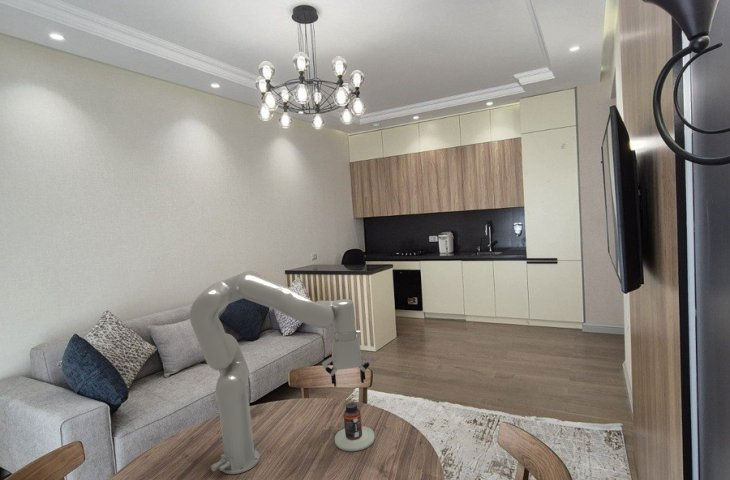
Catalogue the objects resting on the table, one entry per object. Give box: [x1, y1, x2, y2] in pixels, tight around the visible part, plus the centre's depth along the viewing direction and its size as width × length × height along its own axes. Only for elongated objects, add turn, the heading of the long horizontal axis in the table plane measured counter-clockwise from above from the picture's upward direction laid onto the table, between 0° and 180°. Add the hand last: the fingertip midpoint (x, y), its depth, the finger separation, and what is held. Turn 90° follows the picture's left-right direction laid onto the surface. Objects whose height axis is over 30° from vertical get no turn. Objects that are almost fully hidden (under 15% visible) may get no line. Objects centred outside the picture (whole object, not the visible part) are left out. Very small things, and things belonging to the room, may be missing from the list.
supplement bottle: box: [343, 402, 363, 440], centre depth 141 cm, size 6×6×11 cm
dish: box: [334, 425, 375, 452], centre depth 141 cm, size 14×14×2 cm
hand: (348, 383), depth 140 cm, fingers open, 9 cm apart
